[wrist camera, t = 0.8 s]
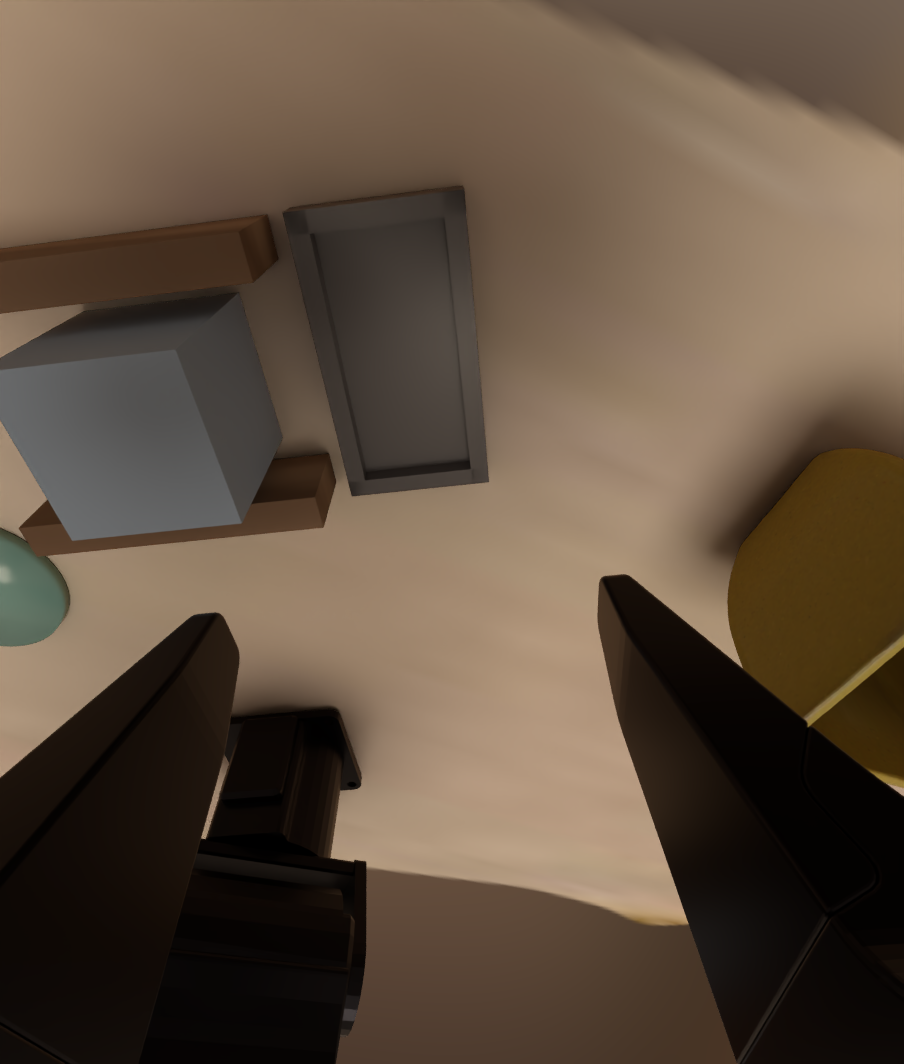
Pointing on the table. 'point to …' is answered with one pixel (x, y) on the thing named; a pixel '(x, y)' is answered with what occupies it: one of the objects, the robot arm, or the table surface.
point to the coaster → (28, 594)
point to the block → (143, 416)
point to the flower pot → (831, 604)
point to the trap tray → (395, 336)
